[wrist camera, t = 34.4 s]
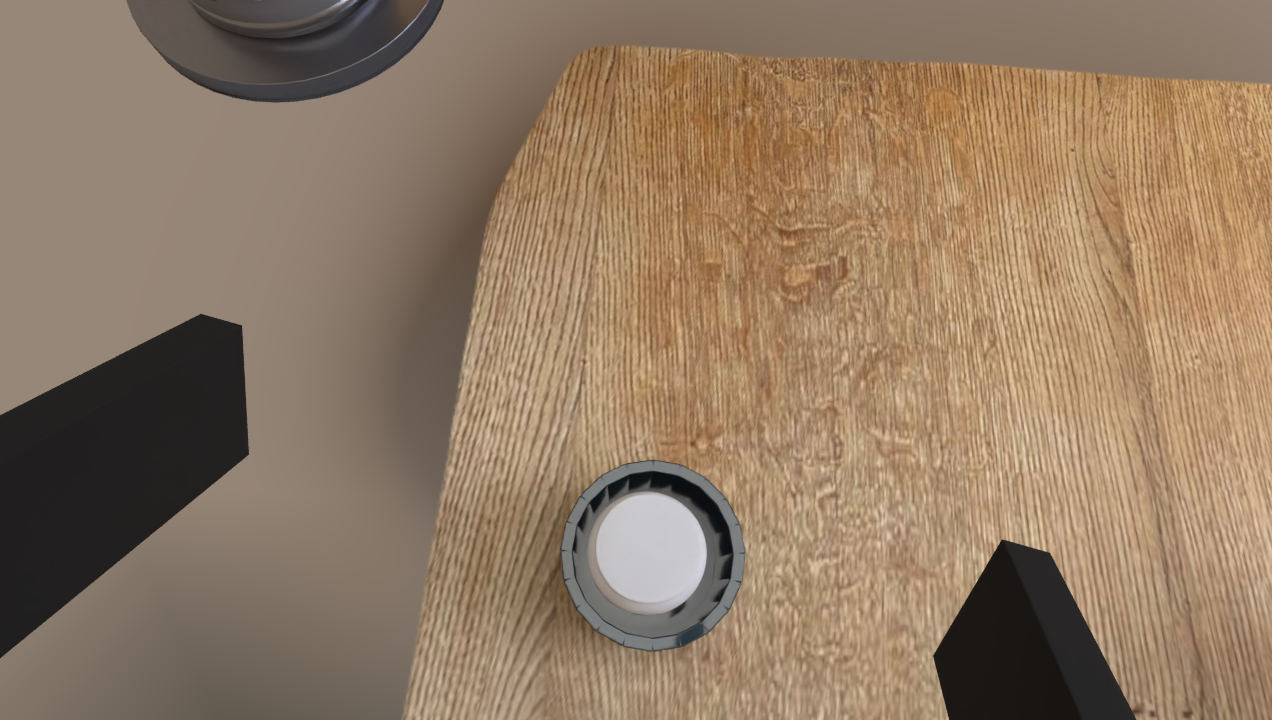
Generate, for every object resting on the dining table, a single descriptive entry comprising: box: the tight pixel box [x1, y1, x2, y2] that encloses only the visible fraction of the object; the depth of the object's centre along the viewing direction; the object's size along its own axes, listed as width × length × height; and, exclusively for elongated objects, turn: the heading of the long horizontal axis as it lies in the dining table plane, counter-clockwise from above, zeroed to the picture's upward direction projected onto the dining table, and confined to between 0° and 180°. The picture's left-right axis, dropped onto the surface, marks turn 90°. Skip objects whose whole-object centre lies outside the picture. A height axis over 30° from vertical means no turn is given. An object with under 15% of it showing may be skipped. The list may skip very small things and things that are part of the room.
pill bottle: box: [587, 492, 707, 615], centre depth 35 cm, size 6×6×10 cm
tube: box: [560, 460, 745, 652], centre depth 37 cm, size 9×9×7 cm
